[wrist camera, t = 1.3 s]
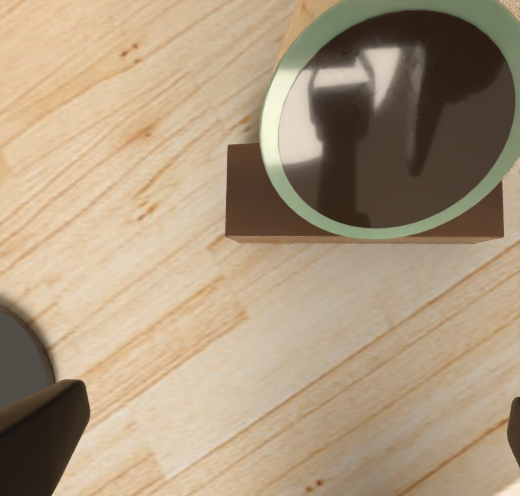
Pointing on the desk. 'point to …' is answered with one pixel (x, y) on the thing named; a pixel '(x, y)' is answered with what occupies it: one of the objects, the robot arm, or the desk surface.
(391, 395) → the desk surface
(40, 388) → the coaster
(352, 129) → the cup
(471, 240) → the prop block
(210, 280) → the desk surface
